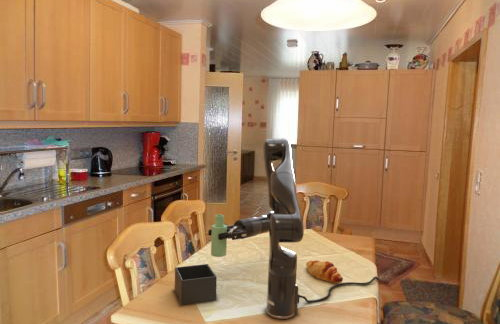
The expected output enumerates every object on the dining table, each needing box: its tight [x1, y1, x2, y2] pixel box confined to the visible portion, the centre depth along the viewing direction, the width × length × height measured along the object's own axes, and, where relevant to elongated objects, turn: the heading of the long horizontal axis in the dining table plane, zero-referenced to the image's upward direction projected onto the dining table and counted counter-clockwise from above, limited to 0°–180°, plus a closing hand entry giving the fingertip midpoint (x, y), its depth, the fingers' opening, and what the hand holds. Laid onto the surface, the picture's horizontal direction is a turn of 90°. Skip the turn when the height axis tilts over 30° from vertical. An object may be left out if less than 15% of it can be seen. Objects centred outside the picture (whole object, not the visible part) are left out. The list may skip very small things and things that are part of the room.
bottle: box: [210, 214, 228, 258], centre depth 146 cm, size 6×6×15 cm
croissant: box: [305, 260, 344, 284], centre depth 159 cm, size 21×10×8 cm, turn 32°
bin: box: [174, 263, 218, 306], centre depth 138 cm, size 12×12×9 cm
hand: (213, 234), depth 145 cm, fingers closed on bottle, 5 cm apart
